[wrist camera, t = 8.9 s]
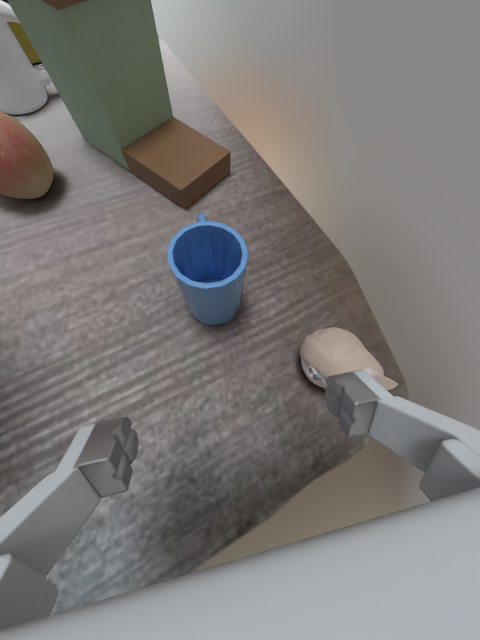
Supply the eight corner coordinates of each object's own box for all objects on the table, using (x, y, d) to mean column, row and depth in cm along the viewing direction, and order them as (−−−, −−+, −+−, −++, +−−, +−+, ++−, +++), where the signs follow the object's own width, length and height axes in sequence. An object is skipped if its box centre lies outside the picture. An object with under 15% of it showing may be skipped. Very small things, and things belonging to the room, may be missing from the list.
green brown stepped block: (183, 211, 29) (143, 40, 15) (80, 140, 32) (-31, -55, 18) (231, 171, 32) (236, -1, 18) (134, 110, 36) (74, -76, 22)
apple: (46, 219, 27) (-23, 152, 20) (-19, 203, 27) (-112, 131, 20) (78, 173, 30) (29, 100, 23) (20, 160, 30) (-49, 82, 23)
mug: (75, 109, 35) (13, -7, 25) (-8, 120, 33) (-112, -2, 23) (68, 80, 37) (10, -37, 27) (-9, 88, 35) (-103, -35, 25)
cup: (244, 320, 24) (254, 281, 16) (190, 329, 24) (170, 293, 15) (231, 257, 27) (233, 195, 19) (182, 263, 26) (161, 202, 18)
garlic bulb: (299, 396, 22) (335, 404, 15) (287, 338, 24) (314, 317, 16) (358, 388, 23) (423, 391, 15) (342, 331, 25) (393, 307, 17)
